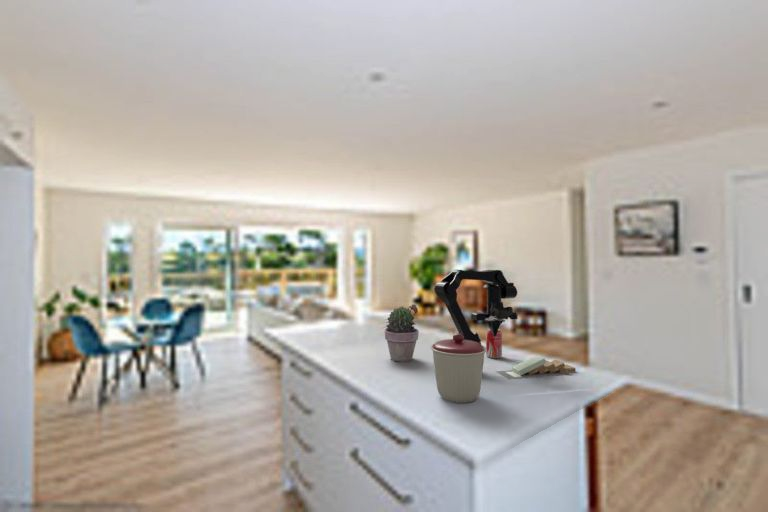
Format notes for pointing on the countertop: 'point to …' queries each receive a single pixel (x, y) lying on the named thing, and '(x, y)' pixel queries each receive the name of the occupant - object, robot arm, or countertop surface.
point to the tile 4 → (556, 366)
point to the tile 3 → (546, 367)
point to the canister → (458, 368)
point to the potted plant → (401, 334)
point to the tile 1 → (528, 365)
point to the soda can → (493, 344)
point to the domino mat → (513, 375)
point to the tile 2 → (535, 370)
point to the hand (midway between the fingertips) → (494, 336)
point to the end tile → (566, 369)
